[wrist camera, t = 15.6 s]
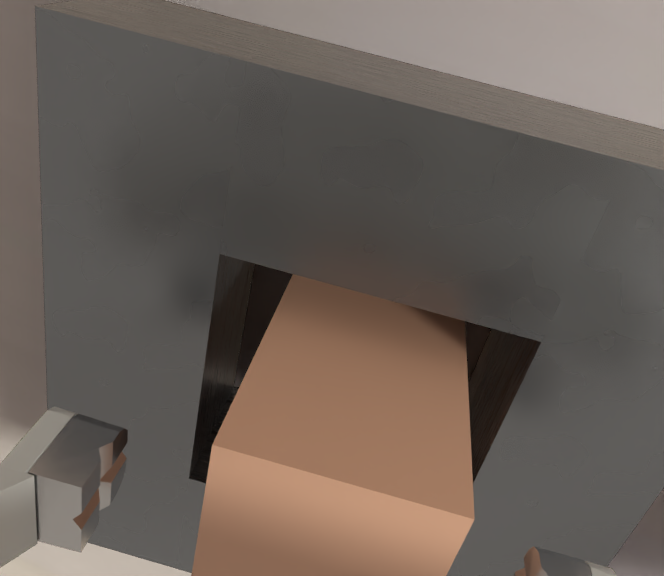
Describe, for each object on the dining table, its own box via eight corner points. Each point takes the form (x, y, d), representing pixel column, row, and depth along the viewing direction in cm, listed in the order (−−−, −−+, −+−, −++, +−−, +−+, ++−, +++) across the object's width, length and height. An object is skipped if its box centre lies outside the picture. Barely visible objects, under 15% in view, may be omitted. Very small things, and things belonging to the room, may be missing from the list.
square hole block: (132, -8, 15) (35, 5, 11) (755, 153, 14) (855, 220, 11) (113, 440, 22) (51, 531, 19) (517, 556, 22) (530, 672, 18)
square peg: (306, 244, 17) (212, 444, 10) (463, 286, 17) (474, 519, 10) (279, 368, 19) (187, 601, 12) (417, 407, 19) (401, 664, 12)
